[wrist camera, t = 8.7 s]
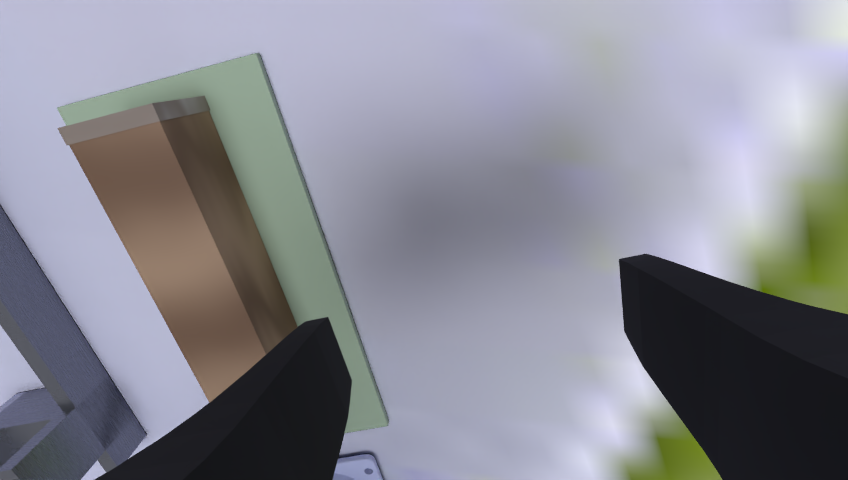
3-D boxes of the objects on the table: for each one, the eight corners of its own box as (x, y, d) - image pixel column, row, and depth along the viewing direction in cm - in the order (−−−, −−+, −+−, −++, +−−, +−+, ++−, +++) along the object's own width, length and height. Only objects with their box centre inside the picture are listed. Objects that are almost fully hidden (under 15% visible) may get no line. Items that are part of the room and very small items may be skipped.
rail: (337, 420, 24) (322, 477, 21) (278, 430, 25) (253, 487, 21) (204, 95, 18) (151, 103, 14) (126, 116, 18) (57, 128, 15)
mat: (388, 420, 25) (387, 425, 24) (244, 444, 26) (241, 450, 25) (259, 53, 17) (255, 53, 17) (64, 106, 18) (56, 107, 18)
